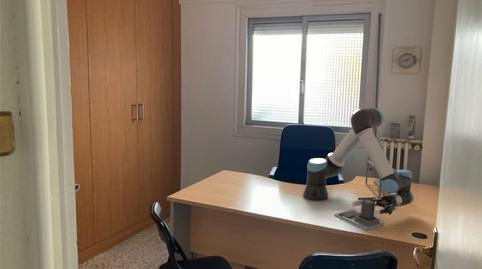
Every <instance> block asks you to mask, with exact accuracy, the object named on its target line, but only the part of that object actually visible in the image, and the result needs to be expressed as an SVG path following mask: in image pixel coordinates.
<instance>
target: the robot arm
mask: <svg viewBox="0 0 482 269" xmlns="http://www.w3.org/2000/svg"><path fill="white" fill-rule="evenodd" d="M383 114H384V113H383V112H382V111H381V110H380V109H379V108H376V107H373V106H372V107H366V108H358V109H356V110H355V111H354V112H353V113H351V117H350V124H351V129H350V130H349V131H348V133H347V134H346V135H345V137H344V138H343V139H342V140H341V142H340V143H339V145H338V146H337V147H336V148H335V150H334V151H333V152H330V153H328V154H327V156H326V157H325V158H322V157H321V158H320V157H317V158H316V157H315V158H311V159H309V160H308V161H307V165H306V168H307V169H306V170H307V171H306V185H305V187H304V190H303V192H302V196H303V198H305V199H306V200H311V201H326V200H329V193H328V189H327V186H326V184H327V179H328V178H329V179H330V178H332V177H337V176H339V175H340V174H341V173H342V172H343V170H344V166H345V161H346V160H347V159H348V157H349V156H350V155H351V154H352V152H353V151H355V149H357V146H358V145H359V144H360V143H361V144H362V146H363V148H364V149H365V151H366V153H367V155H368V157H369V160H370V161H372V162H371V163H373V165H374V166H373V168H374V170H375V171H376V173H377V175H378V177H380V178H381V180H382V184H381V187H382V190H383V191H384V192H383V193H385V195H381V197H380V198H377V196H372V197H368V196H367V197H358V198H357V200H353V201H352V207H353V208H354V207H359V206H362V201H363V200H370V201H373V202H375V207H376V206H377V207H380V208H377V209H375V210H374V217H376V216H379V215H383V214H388V215H392V214H393V212H394V211H395V210H397V209H396V208H399V207H403V206H408V205H410V204H412V203H413V202H414V200H415V197H414V194H413V192H412V191H411V188H412V179H413V177H412V175H413V173H412V171H411V170H408V169H398V170H396V171H397V174H396V172H394V171H393V169H394V168H393V167H392V166H391V163H390V162H389V160H388V158H387V156H386V154H385V153H384V151H383V150H382V147H381V144H380V143H379V141H378V140H377V137H376V136H375V134H374V130H375V129H376V128H379V127H380V126H382V125H383V122H384V115H383ZM392 168H393V169H392ZM396 175H397V176H396Z"/></svg>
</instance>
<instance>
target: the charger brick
mask: <svg viewBox="0 0 482 269" xmlns="http://www.w3.org/2000/svg"><path fill="white" fill-rule="evenodd" d="M375 204H376V201H375V202H373V201H370V200H363V201H362V205H360V206H361V207H360V213H361V218H363V219H365V220H368V221H371V220H374V217H375V215H374V210H376V209H375V208H376V206H375Z"/></svg>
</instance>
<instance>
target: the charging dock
mask: <svg viewBox="0 0 482 269" xmlns="http://www.w3.org/2000/svg"><path fill="white" fill-rule="evenodd" d="M333 216H334V217H335V218H337V219H340V220H342V221H343V222H346V223H348V224H350V225H353V226H354V227H357V228H359V229H361V230H363V231H368V230H371V229H374V228H375V229H376V228H378V227H381V226H384V225H385V223H384V222H383V221H382V220H380V218H378V217H376V216H374V220H371V221H368V220H365V219H363V218H361V212H359V211H357V210H355V209H349V210H346V211H342V212H337V213H334V214H333Z"/></svg>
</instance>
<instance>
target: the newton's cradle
mask: <svg viewBox="0 0 482 269" xmlns="http://www.w3.org/2000/svg"><path fill="white" fill-rule="evenodd" d="M369 165H371V166H372V167H374V165H373V163H372V161H371V160H367V161H366V168H365V170H366V171H365V180H364V181H365V186H366V187H367V188H368V189H369V190H370V191H371V192H372V194H374V195H375V197H376V198H377V199H381V197H382V194H381V193H382V192H383V193H385V192H384V191H383V190H382V187H381V184H382V180H381V178H380V176H377V173H374V174H375V179H373V183H372V184H373V185H374V186H375V187H377V188H378V193H377V192H375V190H374V189H373V188H371V185H370V184H368V176H369ZM392 169H393V171H394V173H395V175H396V174H397V171H398V170H397V169H395V168H393V167H392ZM396 176H397V175H396Z"/></svg>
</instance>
